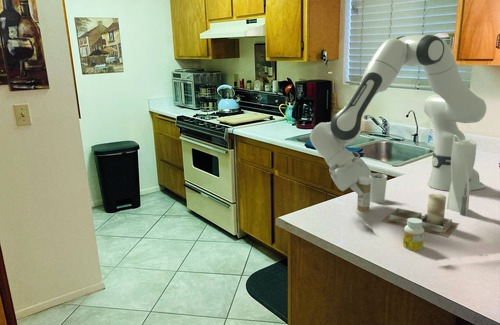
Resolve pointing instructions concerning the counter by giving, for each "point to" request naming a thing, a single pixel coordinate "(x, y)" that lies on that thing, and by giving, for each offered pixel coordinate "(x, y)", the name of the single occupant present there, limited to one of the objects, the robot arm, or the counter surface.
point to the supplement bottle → (413, 235)
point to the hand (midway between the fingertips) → (365, 192)
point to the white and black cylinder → (378, 187)
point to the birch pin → (436, 209)
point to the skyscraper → (461, 174)
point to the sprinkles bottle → (364, 199)
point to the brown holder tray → (402, 215)
